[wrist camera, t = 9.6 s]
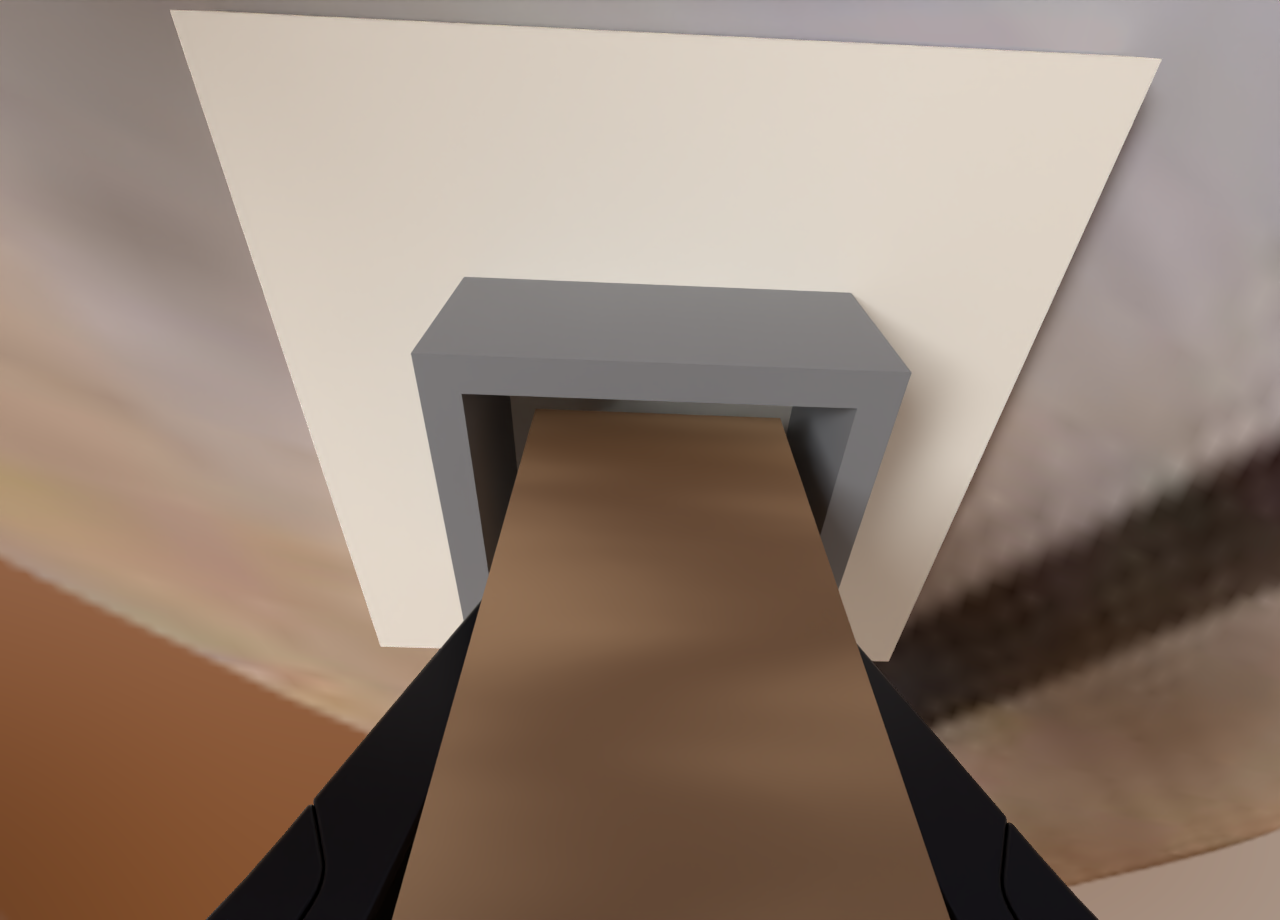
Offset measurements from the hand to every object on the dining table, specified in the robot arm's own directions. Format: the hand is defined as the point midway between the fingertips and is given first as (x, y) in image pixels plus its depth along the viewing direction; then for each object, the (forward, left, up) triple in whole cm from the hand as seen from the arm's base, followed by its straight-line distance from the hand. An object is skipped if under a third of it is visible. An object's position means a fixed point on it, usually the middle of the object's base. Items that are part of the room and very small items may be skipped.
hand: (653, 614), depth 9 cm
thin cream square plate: (0, 0, -6) cm, 6 cm away
